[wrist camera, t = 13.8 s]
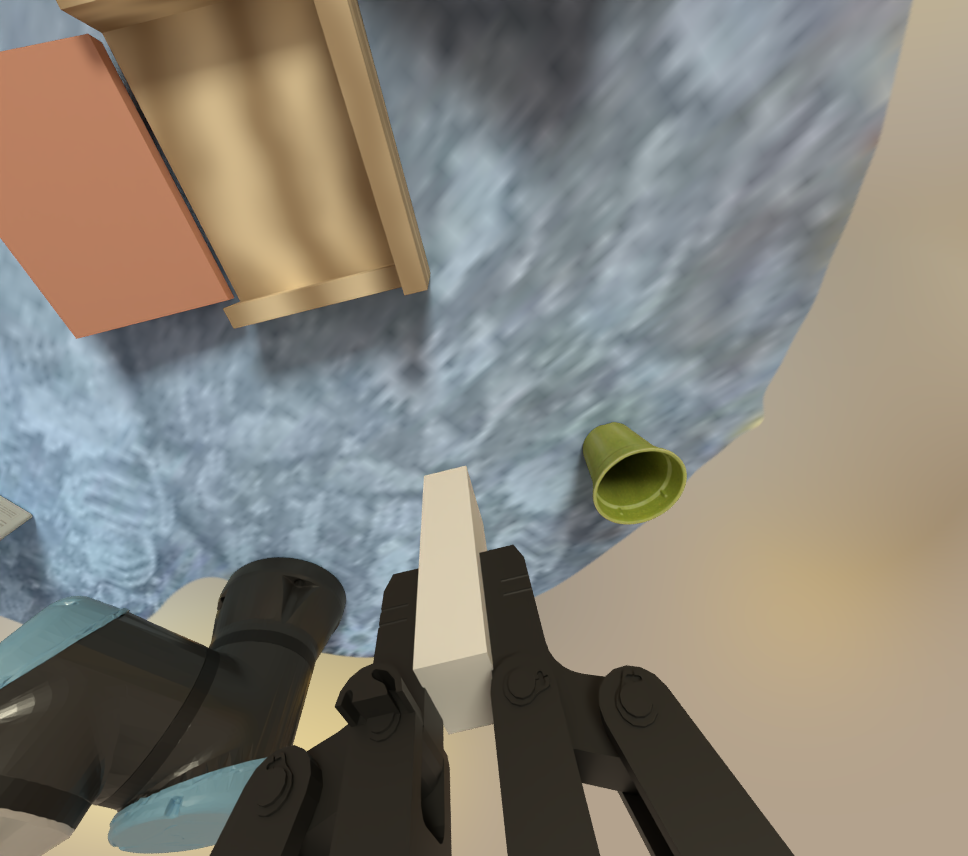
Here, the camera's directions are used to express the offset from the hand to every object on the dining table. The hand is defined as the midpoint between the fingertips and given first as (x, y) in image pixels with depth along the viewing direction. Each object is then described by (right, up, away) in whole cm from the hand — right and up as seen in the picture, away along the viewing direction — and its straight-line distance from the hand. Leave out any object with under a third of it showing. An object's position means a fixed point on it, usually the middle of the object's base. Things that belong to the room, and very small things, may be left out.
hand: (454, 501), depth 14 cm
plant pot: (+16, +1, +32) cm, 35 cm away
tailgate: (-21, +20, +14) cm, 33 cm away
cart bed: (-14, +23, +16) cm, 31 cm away
